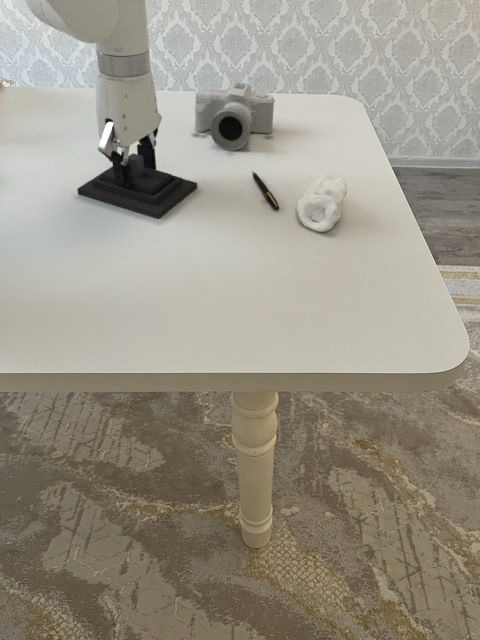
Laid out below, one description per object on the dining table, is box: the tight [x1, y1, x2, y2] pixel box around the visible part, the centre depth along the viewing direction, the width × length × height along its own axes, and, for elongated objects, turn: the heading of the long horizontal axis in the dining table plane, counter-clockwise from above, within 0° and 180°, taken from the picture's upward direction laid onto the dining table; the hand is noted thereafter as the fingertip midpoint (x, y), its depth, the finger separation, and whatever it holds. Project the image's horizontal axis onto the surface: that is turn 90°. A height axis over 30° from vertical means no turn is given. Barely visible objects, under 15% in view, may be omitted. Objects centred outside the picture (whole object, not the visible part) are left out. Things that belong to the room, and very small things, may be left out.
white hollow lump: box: [295, 173, 348, 232], centre depth 95 cm, size 9×12×8 cm
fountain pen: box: [251, 170, 280, 211], centre depth 101 cm, size 14×1×2 cm, turn 19°
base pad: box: [77, 173, 198, 220], centre depth 100 cm, size 16×12×2 cm
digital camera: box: [194, 82, 276, 152], centre depth 116 cm, size 17×14×10 cm
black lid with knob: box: [100, 152, 172, 195], centre depth 98 cm, size 10×6×4 cm, turn 64°
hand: (136, 176), depth 98 cm, fingers closed on black lid with knob, 6 cm apart
